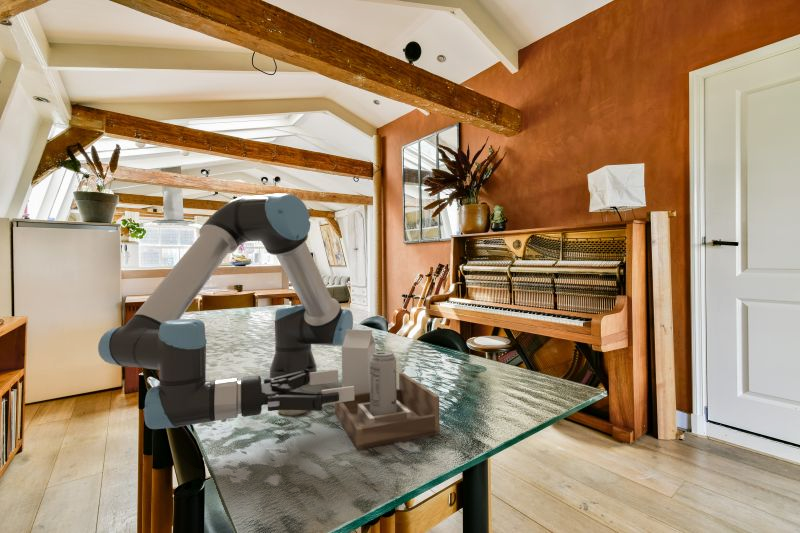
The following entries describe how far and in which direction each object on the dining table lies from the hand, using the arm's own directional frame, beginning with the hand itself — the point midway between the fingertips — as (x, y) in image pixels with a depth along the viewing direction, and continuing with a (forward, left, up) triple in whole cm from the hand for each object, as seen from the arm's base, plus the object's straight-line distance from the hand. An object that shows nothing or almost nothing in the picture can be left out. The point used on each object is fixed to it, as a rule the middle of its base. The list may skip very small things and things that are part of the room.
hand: (345, 383), depth 82 cm
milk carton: (-16, +8, -10) cm, 21 cm away
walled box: (0, +9, -10) cm, 13 cm away
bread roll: (-17, -9, -11) cm, 22 cm away
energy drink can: (0, +9, -9) cm, 13 cm away
